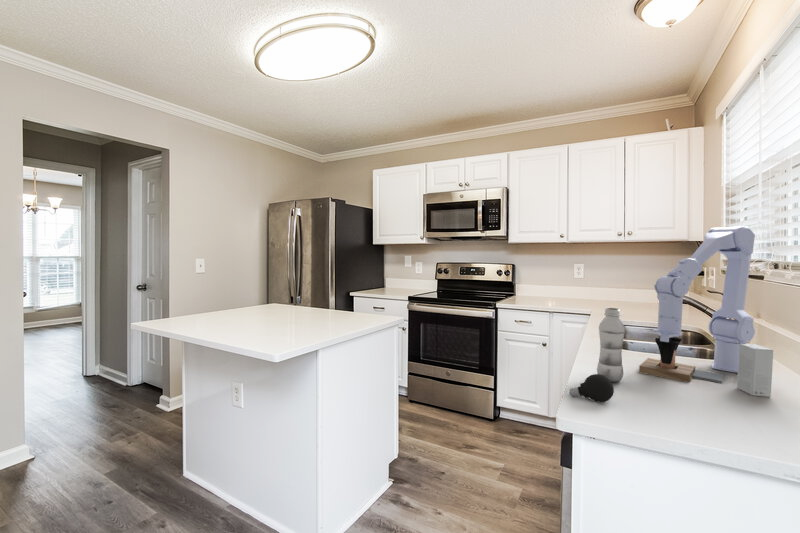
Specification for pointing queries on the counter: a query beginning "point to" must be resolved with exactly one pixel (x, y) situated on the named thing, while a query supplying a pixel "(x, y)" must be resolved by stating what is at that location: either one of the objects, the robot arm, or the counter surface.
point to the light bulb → (594, 388)
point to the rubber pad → (708, 376)
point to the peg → (671, 366)
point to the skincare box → (755, 369)
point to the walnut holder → (667, 370)
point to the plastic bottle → (611, 345)
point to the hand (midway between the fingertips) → (667, 362)
